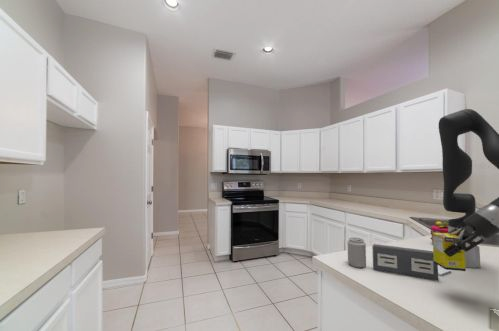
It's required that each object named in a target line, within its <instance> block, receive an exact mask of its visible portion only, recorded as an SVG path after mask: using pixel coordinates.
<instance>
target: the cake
mask: <svg viewBox="0 0 499 331" xmlns="http://www.w3.org/2000/svg"><path fill="white" fill-rule="evenodd" d="M432 233H449V231H448V222H445V221H444V222H442V221H440V220H439V221H436V222H435V225H431V226H430V235H431V237H429V238H430V240H431V245H432V246H433V235H432Z"/></svg>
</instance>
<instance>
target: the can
mask: <svg viewBox="0 0 499 331" xmlns="http://www.w3.org/2000/svg"><path fill="white" fill-rule="evenodd" d="M366 244H367V243H366V242H365V240H364V239H363V238H360V237H351V236H350V237H349V238H348V240H347V262H348V264H349V265H350V266H352V267H354V268H358V269H362V268H364V267H366V266H367V256H366V255H367V251H366V250H367V247H366Z"/></svg>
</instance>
